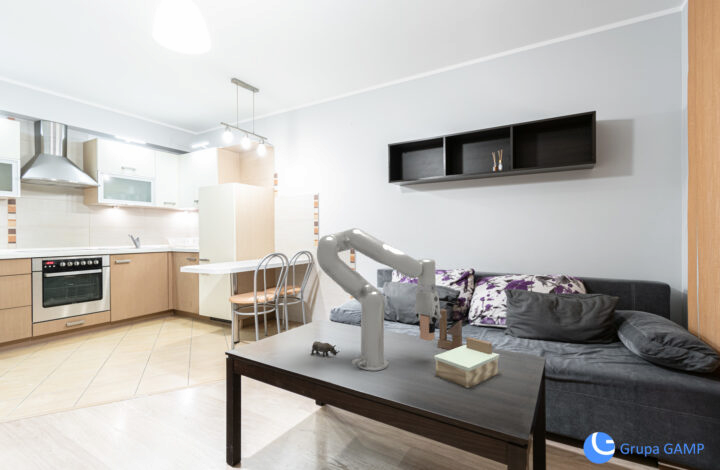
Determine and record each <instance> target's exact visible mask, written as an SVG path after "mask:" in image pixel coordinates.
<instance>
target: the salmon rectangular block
mask: <svg viewBox="0 0 720 470" xmlns="http://www.w3.org/2000/svg"><path fill="white" fill-rule="evenodd" d="M432 319H433V317H432ZM429 324H430V319H429V316H426V315H420V330H419V339H420V340H424V341H426V342H427V341H428V342H430V341H433V340H435V339H436V338H435V336H436V335H435V333H436V331H435V332H434V333H429Z"/></svg>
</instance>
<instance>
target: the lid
mask: <svg viewBox="0 0 720 470" xmlns="http://www.w3.org/2000/svg"><path fill="white" fill-rule="evenodd" d="M465 339H466V344H462V346H461V347H458V348H455V349H452V350H447V351H444V352H441V353H439V354H435V355H434V356H433V360H435V361H436V360H438V361H441V362H444V363H446V364H449V365H452V366H455V367H458V368H461V369H463V370H466V371H471V370H473V369H475V368H478V367H480V366H482V365H484V364H486V363H489V362H491V361H493V360H495V359H497V358H498V359H500V354H499V353H495V352H493V343H492V342H490V341H486V340H482V339H477V338H473V337H470V336H469V337H466V338H465Z"/></svg>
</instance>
